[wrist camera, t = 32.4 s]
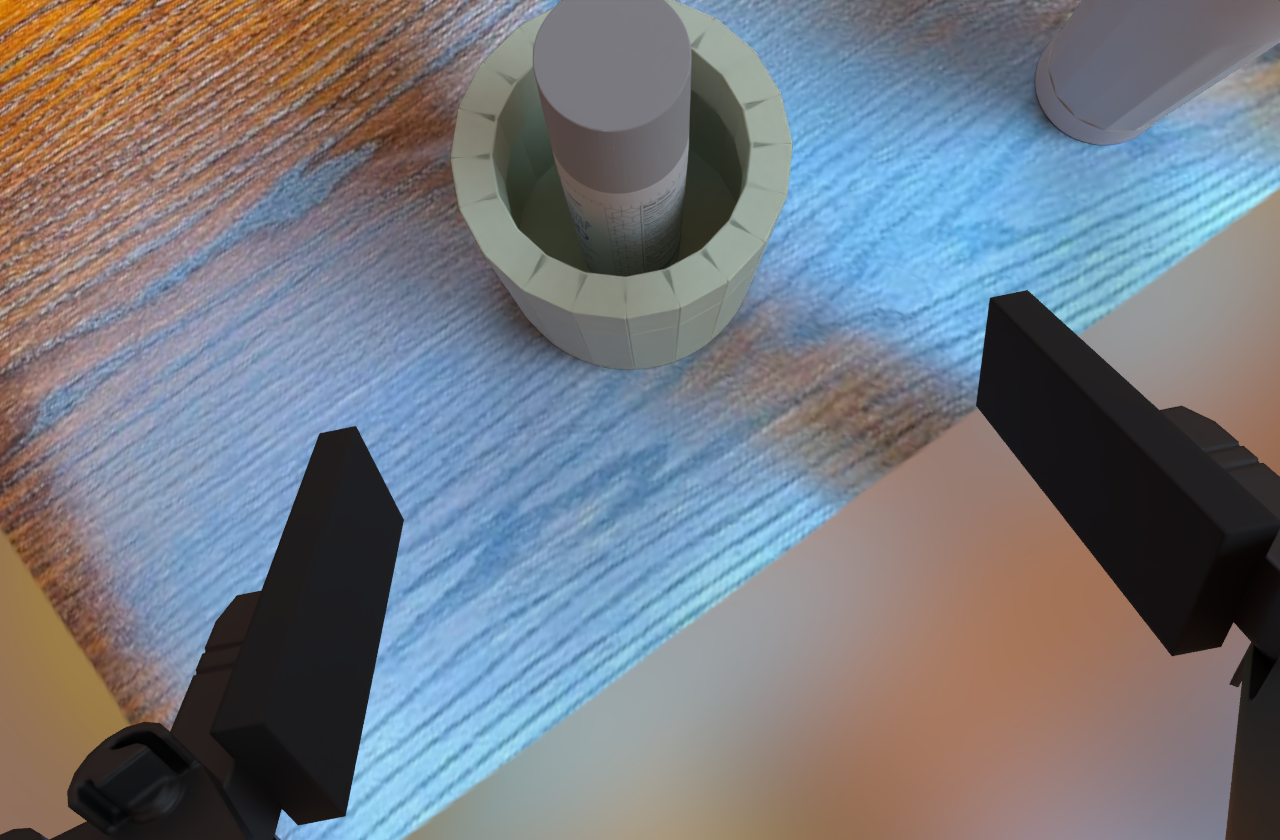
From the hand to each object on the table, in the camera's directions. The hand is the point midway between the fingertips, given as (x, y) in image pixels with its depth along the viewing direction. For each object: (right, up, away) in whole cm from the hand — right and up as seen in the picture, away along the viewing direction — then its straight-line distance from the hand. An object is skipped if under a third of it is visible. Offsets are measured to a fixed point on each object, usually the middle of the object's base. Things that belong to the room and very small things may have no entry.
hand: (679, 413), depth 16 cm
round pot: (-1, +8, +21) cm, 22 cm away
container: (-1, +8, +20) cm, 22 cm away
